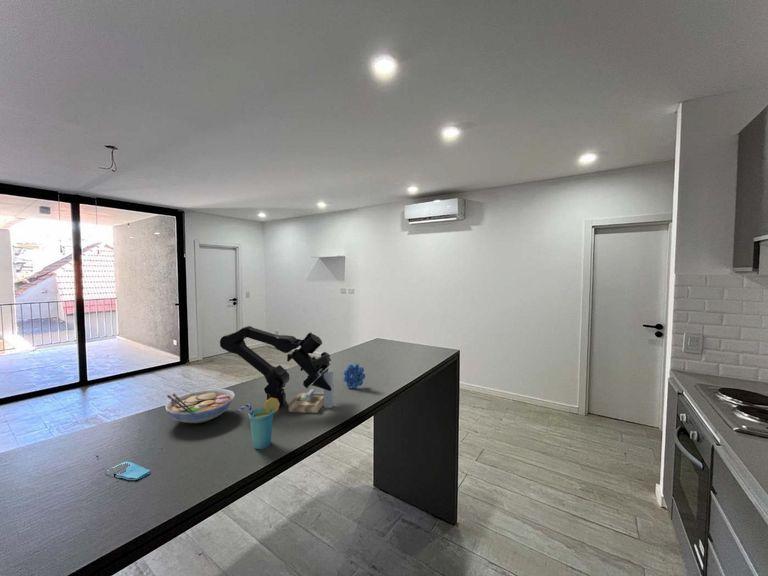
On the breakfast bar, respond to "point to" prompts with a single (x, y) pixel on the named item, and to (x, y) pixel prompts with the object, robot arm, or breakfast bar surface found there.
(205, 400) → the ramen bowl
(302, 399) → the ball
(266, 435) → the cup
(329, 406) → the pull handle
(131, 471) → the sponge
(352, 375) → the grapes
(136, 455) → the breakfast bar surface
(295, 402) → the board
